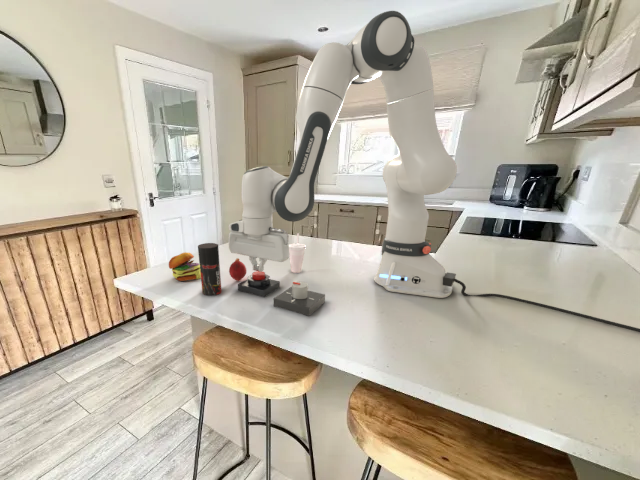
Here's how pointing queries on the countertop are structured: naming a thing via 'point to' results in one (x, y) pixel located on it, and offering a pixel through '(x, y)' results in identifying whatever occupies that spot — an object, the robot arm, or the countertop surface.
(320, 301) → the hob panel
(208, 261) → the deodorant
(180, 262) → the cheeseburger
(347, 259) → the countertop surface
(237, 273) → the onion
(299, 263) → the smoothie
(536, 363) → the countertop surface
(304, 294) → the hob knob
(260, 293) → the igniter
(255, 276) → the button
